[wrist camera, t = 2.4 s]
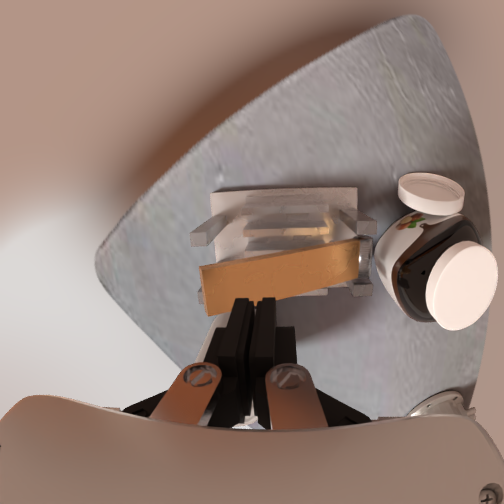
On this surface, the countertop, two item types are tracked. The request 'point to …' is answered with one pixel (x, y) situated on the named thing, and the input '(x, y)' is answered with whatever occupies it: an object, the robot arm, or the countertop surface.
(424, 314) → the spread jar
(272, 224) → the gray slatted rack
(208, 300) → the orange brown bar
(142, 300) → the countertop surface
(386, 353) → the countertop surface
